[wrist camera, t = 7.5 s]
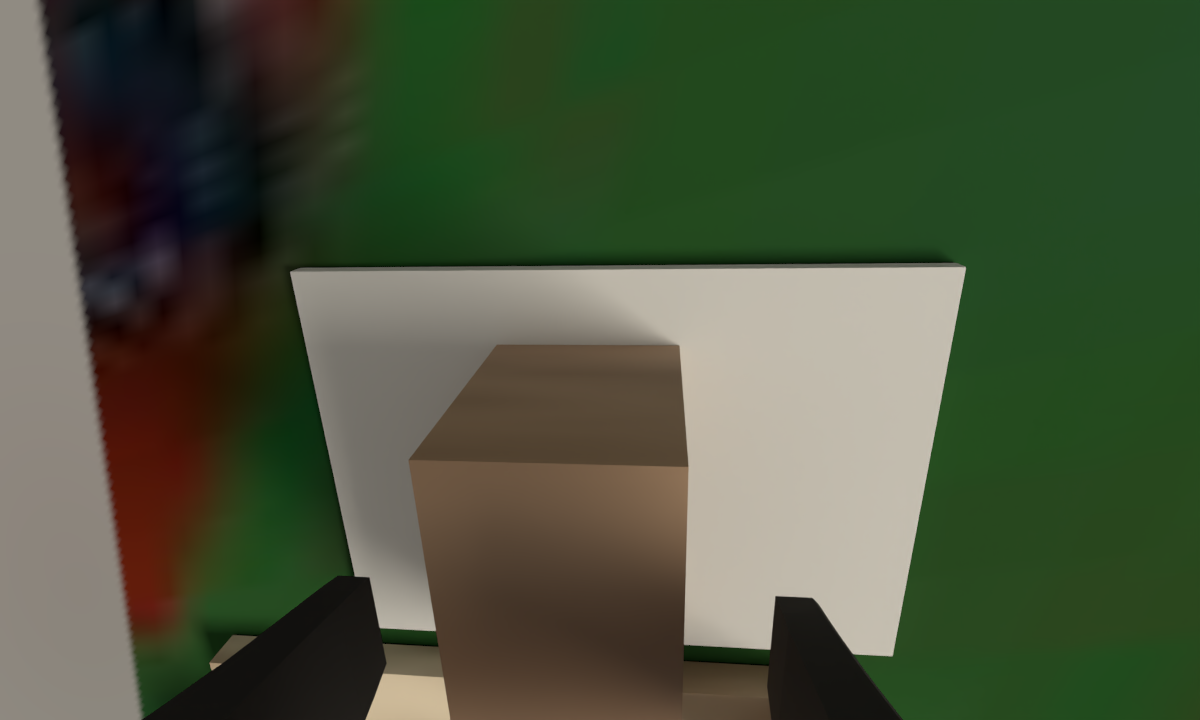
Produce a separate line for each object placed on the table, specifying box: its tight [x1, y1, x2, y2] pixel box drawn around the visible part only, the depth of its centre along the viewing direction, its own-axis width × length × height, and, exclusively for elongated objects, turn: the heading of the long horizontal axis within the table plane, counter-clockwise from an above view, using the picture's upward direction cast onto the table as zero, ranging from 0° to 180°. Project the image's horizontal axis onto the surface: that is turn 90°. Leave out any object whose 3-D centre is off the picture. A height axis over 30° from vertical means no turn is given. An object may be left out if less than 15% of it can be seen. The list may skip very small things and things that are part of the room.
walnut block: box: [408, 345, 689, 720], centre depth 12 cm, size 8×4×5 cm, turn 2°
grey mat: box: [290, 263, 966, 656], centre depth 14 cm, size 10×14×1 cm
